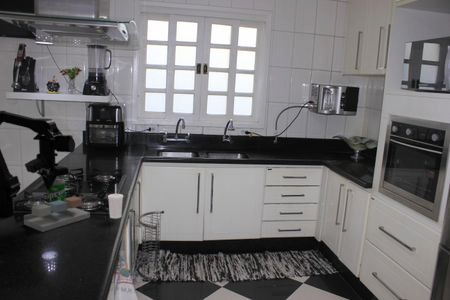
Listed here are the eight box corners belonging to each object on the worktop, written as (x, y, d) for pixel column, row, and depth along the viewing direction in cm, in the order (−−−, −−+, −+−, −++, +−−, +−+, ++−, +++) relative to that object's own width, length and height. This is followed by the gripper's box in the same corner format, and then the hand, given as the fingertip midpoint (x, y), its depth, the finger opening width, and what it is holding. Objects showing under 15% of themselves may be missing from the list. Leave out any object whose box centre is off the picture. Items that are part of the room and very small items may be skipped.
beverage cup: (107, 219, 163) (107, 186, 161) (108, 214, 169) (108, 182, 166) (123, 218, 165) (123, 185, 162) (123, 213, 171) (123, 182, 168)
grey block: (31, 214, 152) (31, 206, 151) (43, 211, 155) (43, 204, 155) (39, 217, 149) (39, 209, 148) (51, 214, 153) (50, 206, 152)
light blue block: (48, 210, 157) (48, 202, 157) (59, 207, 161) (59, 200, 161) (56, 212, 155) (55, 205, 154) (66, 209, 159) (66, 202, 158)
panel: (24, 224, 153) (23, 215, 153) (71, 210, 171) (71, 203, 170) (42, 232, 147) (42, 222, 146) (89, 217, 164) (89, 209, 164)
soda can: (44, 204, 177) (43, 178, 175) (61, 201, 182) (60, 176, 180) (52, 209, 172) (51, 182, 170) (68, 205, 177) (68, 179, 175)
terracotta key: (64, 205, 163) (64, 198, 163) (74, 203, 167) (74, 196, 167) (71, 208, 161) (71, 201, 160) (81, 205, 165) (81, 198, 164)
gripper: (13, 150, 156) (15, 189, 158) (42, 157, 146) (44, 198, 148) (40, 147, 165) (41, 183, 168) (69, 153, 155) (70, 192, 158)
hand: (48, 189), depth 160 cm, fingers closed
